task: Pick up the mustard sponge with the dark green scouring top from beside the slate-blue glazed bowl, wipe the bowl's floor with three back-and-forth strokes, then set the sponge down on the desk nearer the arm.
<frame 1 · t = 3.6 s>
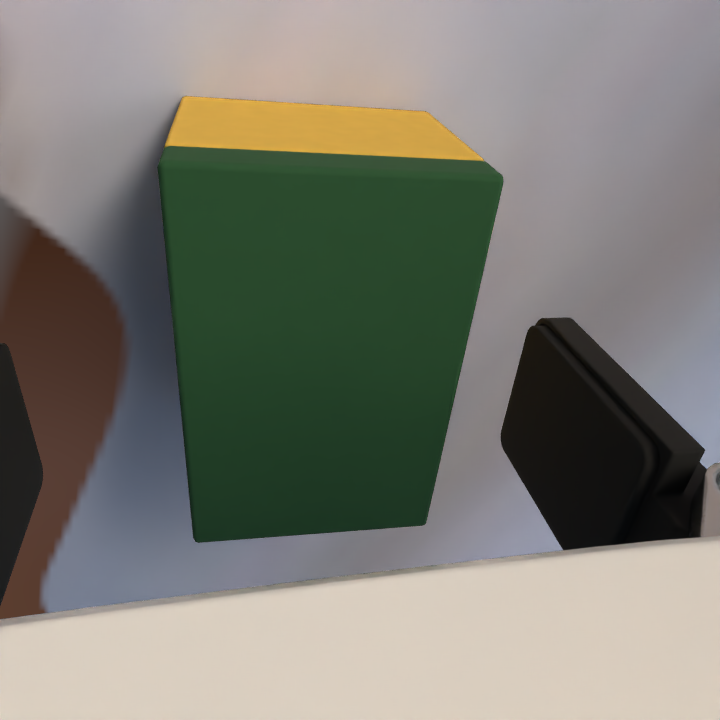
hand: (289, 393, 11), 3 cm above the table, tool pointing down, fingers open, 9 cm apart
sponge: (302, 277, 13), on the table
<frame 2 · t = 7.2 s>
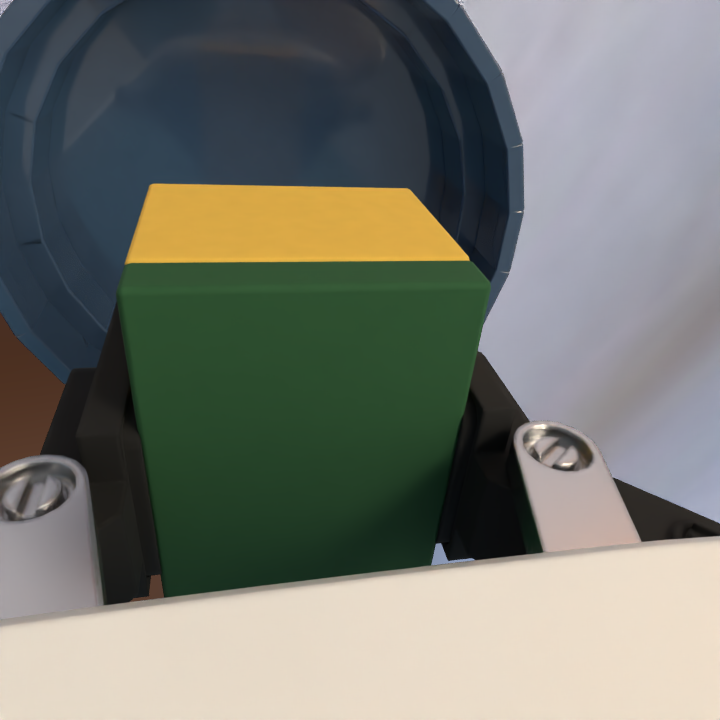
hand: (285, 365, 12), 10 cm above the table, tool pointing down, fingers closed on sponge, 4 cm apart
bowl: (259, 190, 20), on the table
sponge: (283, 355, 12), point 10 cm above the table, touching gripper
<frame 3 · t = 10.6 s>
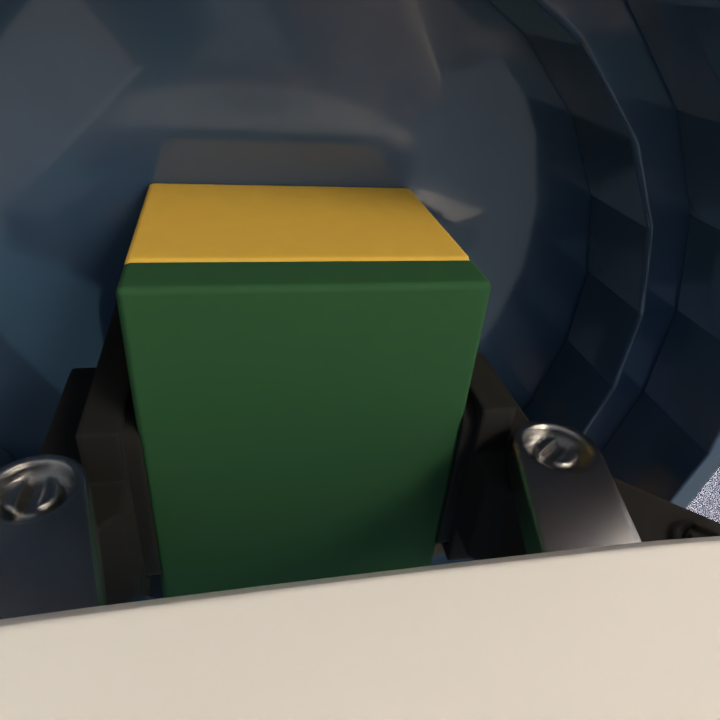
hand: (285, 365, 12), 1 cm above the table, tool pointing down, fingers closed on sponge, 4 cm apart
bowl: (281, 299, 12), on the table
sponge: (283, 355, 12), point 1 cm above the table, touching gripper
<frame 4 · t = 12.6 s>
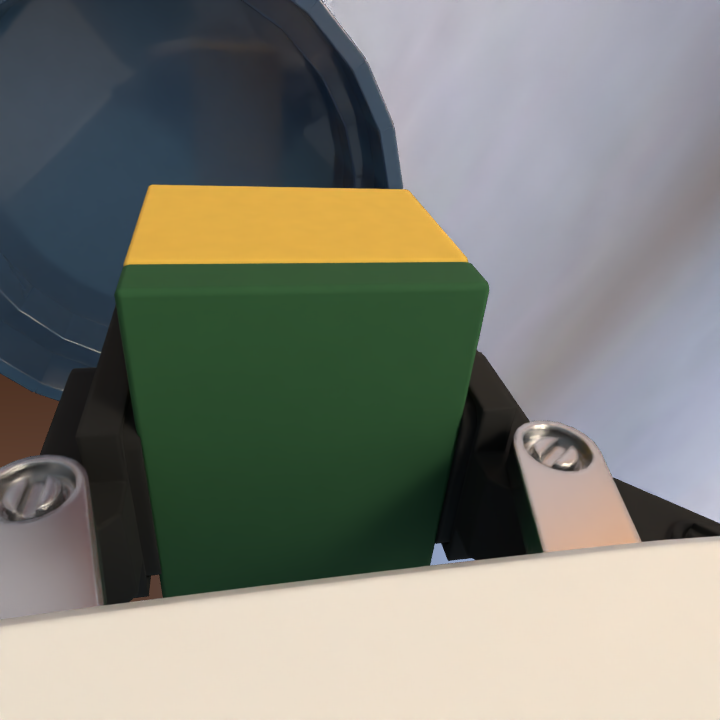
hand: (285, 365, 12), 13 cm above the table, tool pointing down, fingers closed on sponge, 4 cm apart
bowl: (167, 177, 21), on the table
sponge: (282, 356, 12), point 12 cm above the table, touching gripper
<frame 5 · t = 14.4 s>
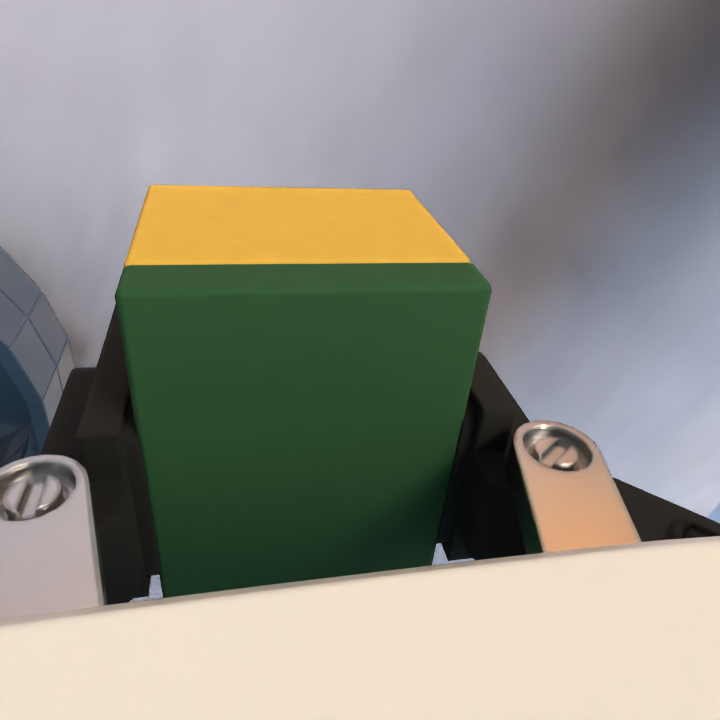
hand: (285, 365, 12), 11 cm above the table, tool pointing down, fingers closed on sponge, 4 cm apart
sponge: (283, 357, 12), point 11 cm above the table, touching gripper
when the fingers open (0 cm above the table, at t = 17.2 s): sponge stays where it is, on the table.
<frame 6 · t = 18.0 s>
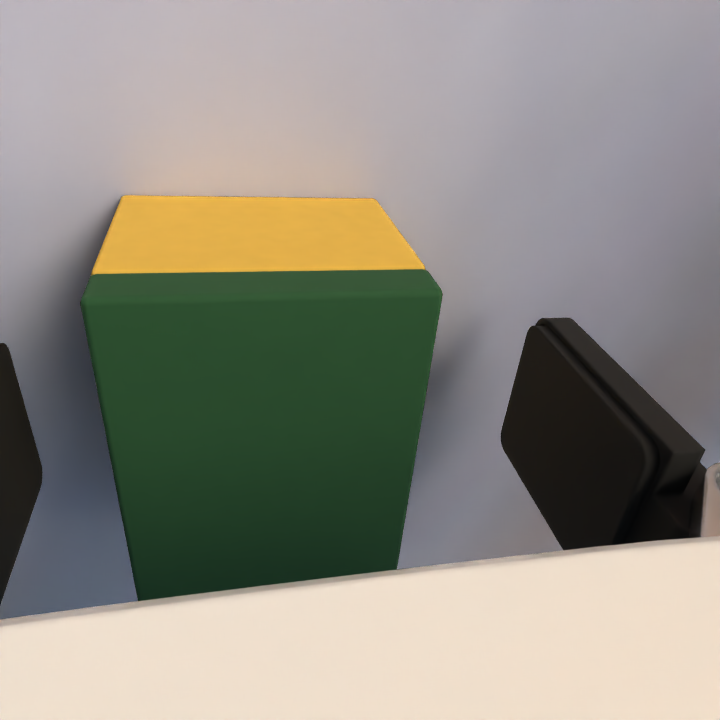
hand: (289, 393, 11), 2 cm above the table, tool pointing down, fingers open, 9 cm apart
sponge: (257, 360, 12), on the table
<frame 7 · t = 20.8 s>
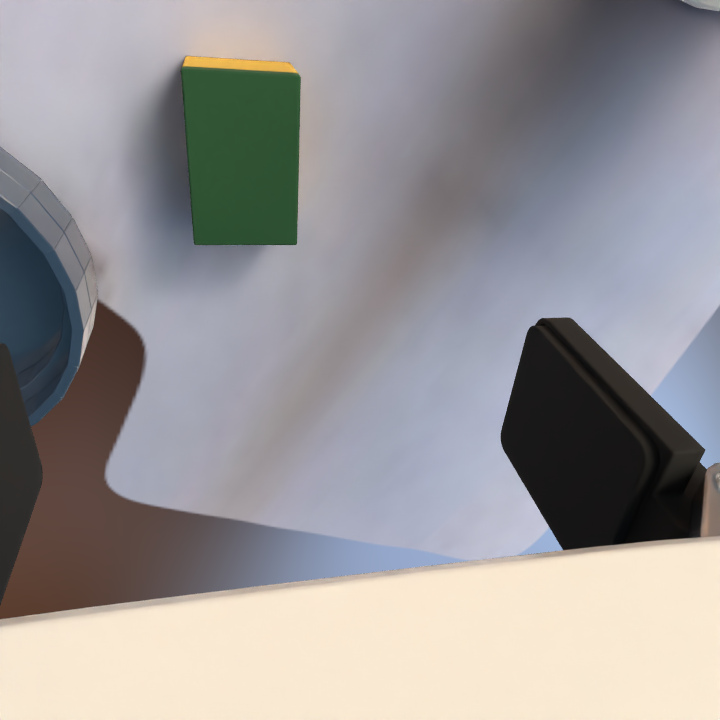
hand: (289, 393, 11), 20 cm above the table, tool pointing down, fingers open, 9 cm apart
sponge: (241, 142, 28), on the table
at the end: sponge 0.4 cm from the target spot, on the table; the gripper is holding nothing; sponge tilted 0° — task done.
